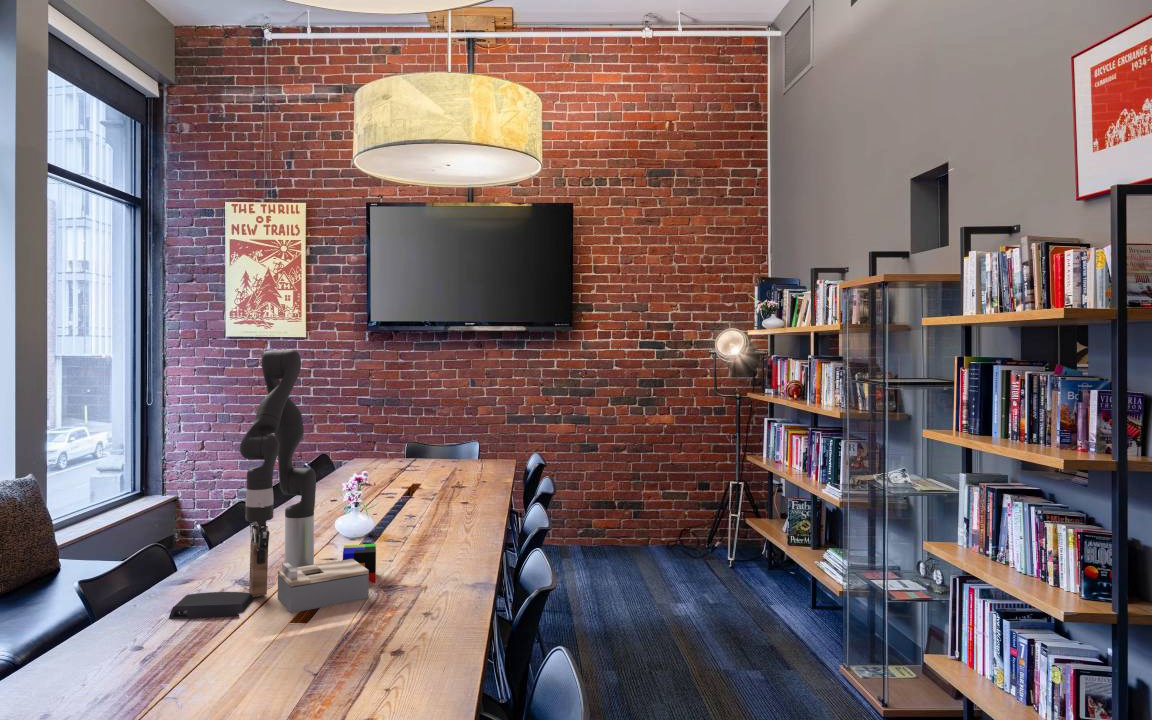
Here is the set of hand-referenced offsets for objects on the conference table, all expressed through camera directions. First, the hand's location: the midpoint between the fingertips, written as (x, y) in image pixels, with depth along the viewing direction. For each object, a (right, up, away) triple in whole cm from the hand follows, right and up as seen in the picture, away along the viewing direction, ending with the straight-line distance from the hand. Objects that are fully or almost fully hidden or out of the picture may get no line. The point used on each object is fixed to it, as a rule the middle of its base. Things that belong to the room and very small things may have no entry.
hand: (259, 561), depth 218 cm
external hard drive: (-9, -12, -8) cm, 18 cm away
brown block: (0, -9, 0) cm, 9 cm away
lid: (+19, -3, -1) cm, 19 cm away
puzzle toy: (+23, -12, +21) cm, 33 cm away
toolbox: (+19, -12, -1) cm, 22 cm away
